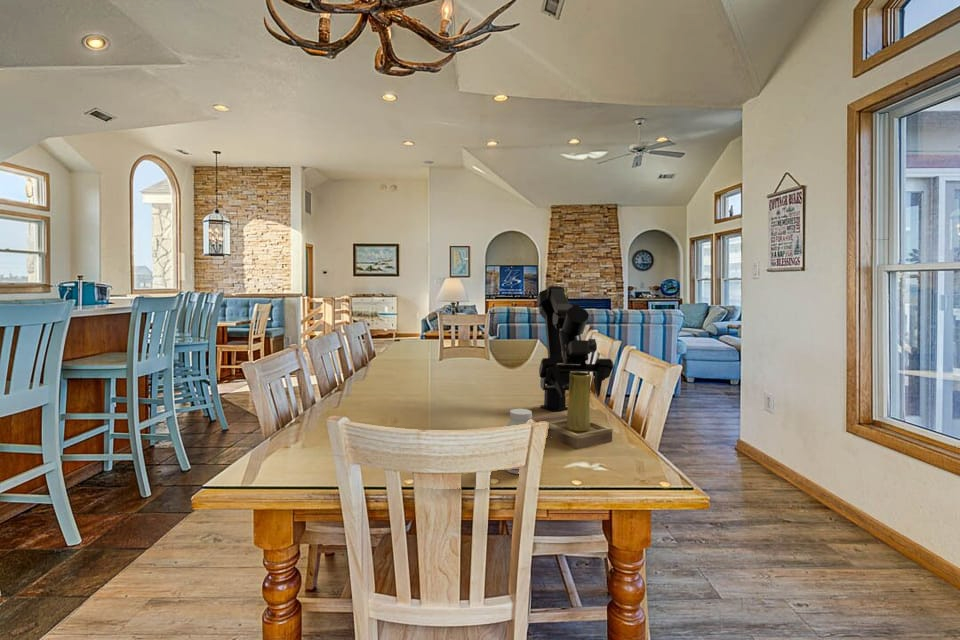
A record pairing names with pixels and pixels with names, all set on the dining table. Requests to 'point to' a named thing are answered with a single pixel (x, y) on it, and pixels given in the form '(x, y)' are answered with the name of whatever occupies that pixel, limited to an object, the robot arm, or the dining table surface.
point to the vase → (579, 402)
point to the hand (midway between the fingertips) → (580, 395)
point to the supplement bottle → (518, 418)
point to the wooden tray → (574, 438)
